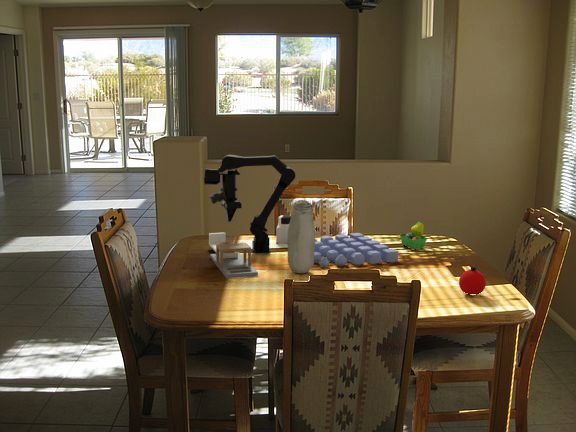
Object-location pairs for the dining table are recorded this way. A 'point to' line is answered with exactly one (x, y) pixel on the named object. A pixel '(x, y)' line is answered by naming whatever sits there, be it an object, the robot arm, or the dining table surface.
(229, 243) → the block
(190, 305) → the dining table surface
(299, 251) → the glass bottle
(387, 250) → the blocks
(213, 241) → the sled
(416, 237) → the fruit basket
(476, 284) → the ornament
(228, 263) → the grey piece
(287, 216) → the medicine bottle
